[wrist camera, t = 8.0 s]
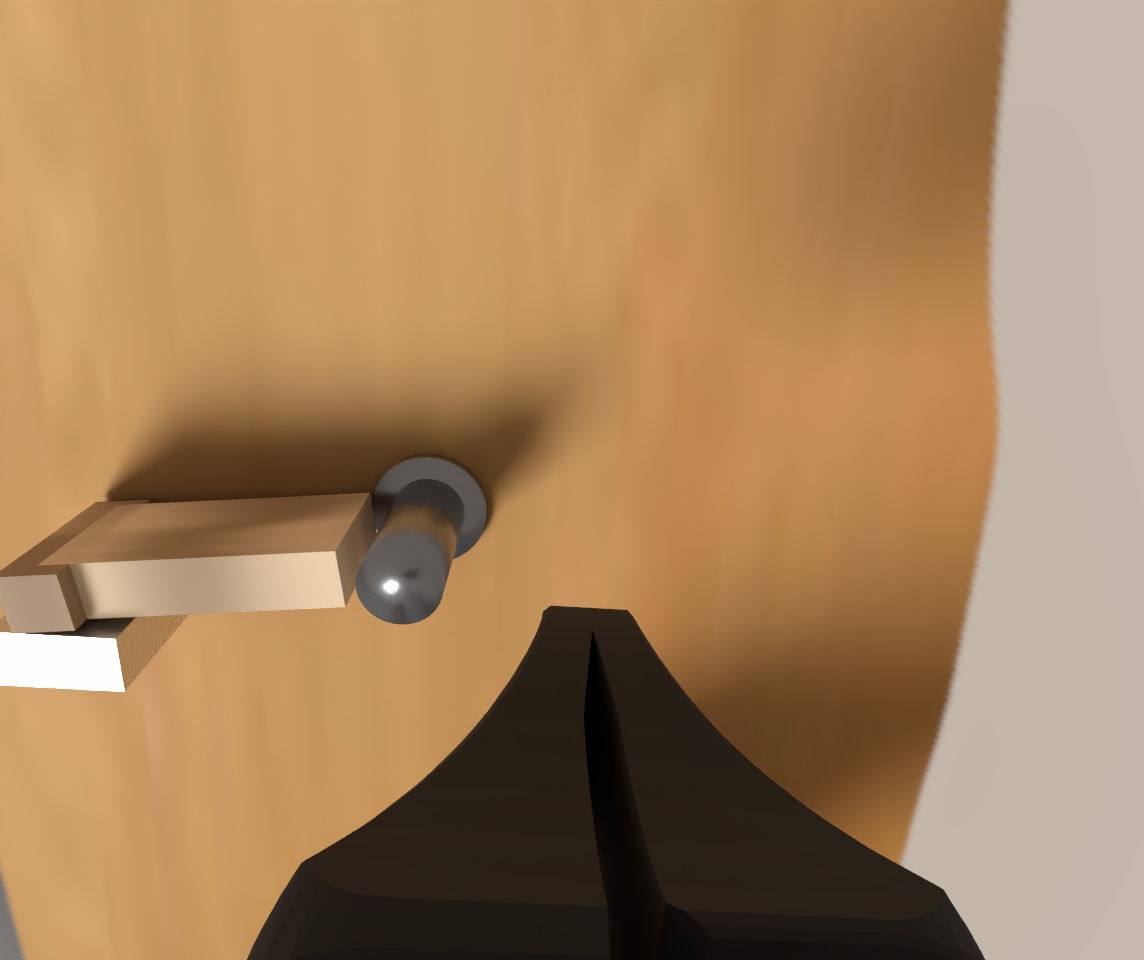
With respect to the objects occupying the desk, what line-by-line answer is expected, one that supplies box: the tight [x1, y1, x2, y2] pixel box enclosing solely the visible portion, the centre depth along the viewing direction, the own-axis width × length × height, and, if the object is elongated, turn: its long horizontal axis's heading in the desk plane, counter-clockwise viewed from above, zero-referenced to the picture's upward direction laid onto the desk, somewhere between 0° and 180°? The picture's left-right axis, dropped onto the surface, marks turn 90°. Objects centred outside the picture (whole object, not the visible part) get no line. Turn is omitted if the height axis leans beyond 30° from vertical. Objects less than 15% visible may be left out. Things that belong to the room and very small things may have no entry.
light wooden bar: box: [0, 493, 377, 634], centre depth 20 cm, size 8×2×4 cm, turn 93°
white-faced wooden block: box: [0, 614, 189, 691], centre depth 21 cm, size 2×3×4 cm, turn 86°
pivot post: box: [356, 455, 487, 624], centre depth 20 cm, size 3×3×4 cm
